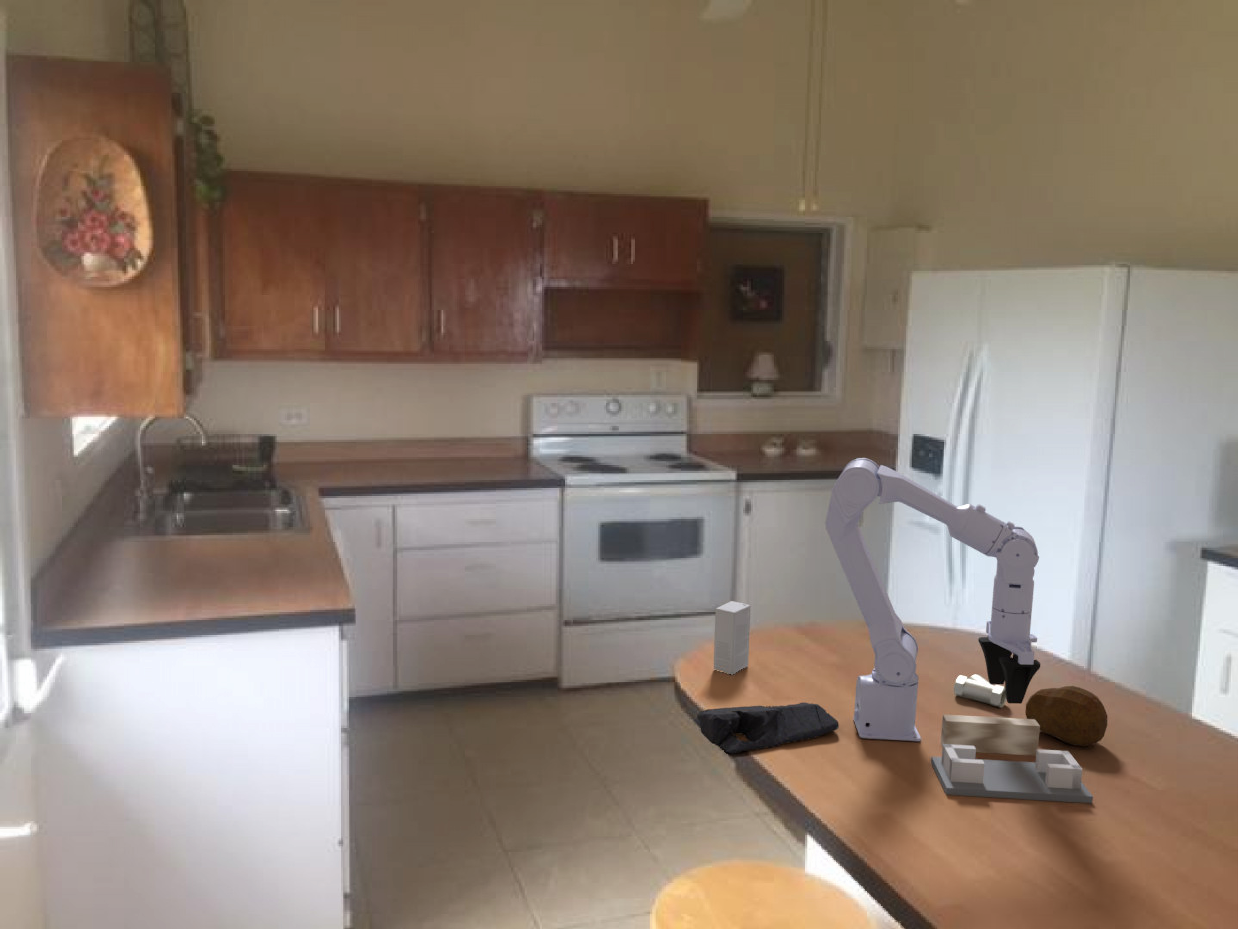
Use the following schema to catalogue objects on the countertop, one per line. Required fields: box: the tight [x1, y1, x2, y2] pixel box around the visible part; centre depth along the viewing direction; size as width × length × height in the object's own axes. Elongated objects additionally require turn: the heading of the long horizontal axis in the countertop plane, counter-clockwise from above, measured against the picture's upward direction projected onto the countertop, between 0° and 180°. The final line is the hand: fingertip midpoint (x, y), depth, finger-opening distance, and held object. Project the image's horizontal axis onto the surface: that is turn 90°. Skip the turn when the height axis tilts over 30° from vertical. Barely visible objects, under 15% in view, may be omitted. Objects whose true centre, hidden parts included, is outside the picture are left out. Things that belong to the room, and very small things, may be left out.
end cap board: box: [930, 744, 1094, 804], centre depth 153 cm, size 20×10×4 cm, turn 86°
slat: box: [940, 714, 1041, 757], centre depth 163 cm, size 14×2×5 cm, turn 86°
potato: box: [1024, 685, 1108, 747], centre depth 168 cm, size 8×12×9 cm
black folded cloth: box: [693, 702, 840, 754], centre depth 169 cm, size 15×22×5 cm
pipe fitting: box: [953, 674, 1007, 709], centre depth 184 cm, size 8×4×7 cm
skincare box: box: [713, 600, 751, 676], centre depth 194 cm, size 6×4×12 cm
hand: (1005, 693), depth 163 cm, fingers open, 7 cm apart
